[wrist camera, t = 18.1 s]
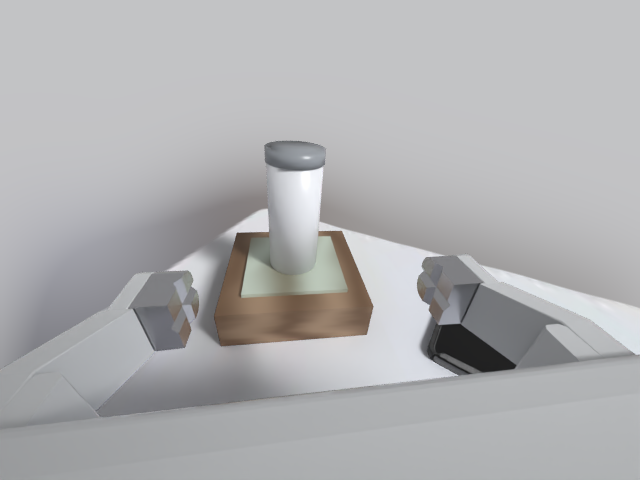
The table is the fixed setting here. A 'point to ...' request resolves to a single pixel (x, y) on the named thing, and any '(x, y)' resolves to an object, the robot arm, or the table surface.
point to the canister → (294, 203)
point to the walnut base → (291, 295)
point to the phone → (464, 351)
